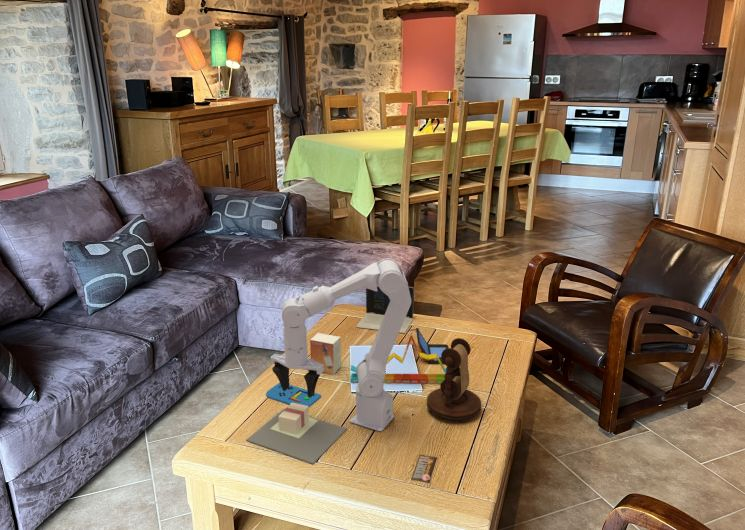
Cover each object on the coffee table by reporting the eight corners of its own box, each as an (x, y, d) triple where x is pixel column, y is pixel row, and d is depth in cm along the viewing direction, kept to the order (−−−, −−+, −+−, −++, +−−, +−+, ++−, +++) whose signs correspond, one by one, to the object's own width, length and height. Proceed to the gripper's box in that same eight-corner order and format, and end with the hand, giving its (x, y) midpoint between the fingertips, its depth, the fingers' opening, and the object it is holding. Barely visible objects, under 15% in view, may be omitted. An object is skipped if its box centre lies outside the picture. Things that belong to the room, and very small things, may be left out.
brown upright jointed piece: (469, 430, 158) (473, 361, 151) (417, 414, 164) (419, 348, 158) (488, 403, 170) (492, 338, 163) (439, 389, 177) (441, 327, 170)
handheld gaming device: (280, 380, 180) (322, 393, 173) (280, 384, 181) (322, 397, 174) (262, 393, 174) (305, 407, 167) (262, 397, 174) (305, 411, 167)
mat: (346, 429, 158) (346, 428, 158) (312, 464, 145) (312, 462, 145) (283, 409, 167) (283, 408, 167) (246, 441, 154) (246, 439, 154)
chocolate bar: (429, 487, 138) (430, 484, 138) (408, 483, 139) (409, 480, 139) (438, 457, 148) (438, 454, 148) (419, 454, 149) (419, 451, 149)
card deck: (296, 434, 156) (296, 420, 154) (279, 429, 157) (278, 416, 156) (309, 419, 162) (308, 406, 160) (292, 415, 163) (291, 402, 162)
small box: (310, 370, 188) (309, 339, 184) (318, 362, 193) (317, 332, 189) (334, 375, 185) (333, 343, 181) (341, 366, 190) (341, 336, 186)
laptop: (355, 328, 217) (355, 294, 212) (366, 314, 228) (366, 282, 224) (404, 334, 212) (405, 300, 207) (413, 320, 223) (413, 287, 219)
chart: (350, 384, 180) (349, 338, 175) (351, 378, 183) (350, 333, 178) (453, 385, 180) (455, 339, 175) (452, 379, 183) (454, 334, 178)
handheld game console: (451, 365, 191) (452, 343, 188) (417, 365, 191) (417, 343, 189) (448, 347, 203) (448, 326, 200) (415, 346, 203) (415, 326, 200)
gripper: (328, 343, 154) (330, 390, 158) (280, 333, 160) (283, 379, 164) (314, 355, 148) (317, 404, 152) (264, 344, 154) (268, 392, 158)
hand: (298, 392), depth 158 cm, fingers open, 7 cm apart
